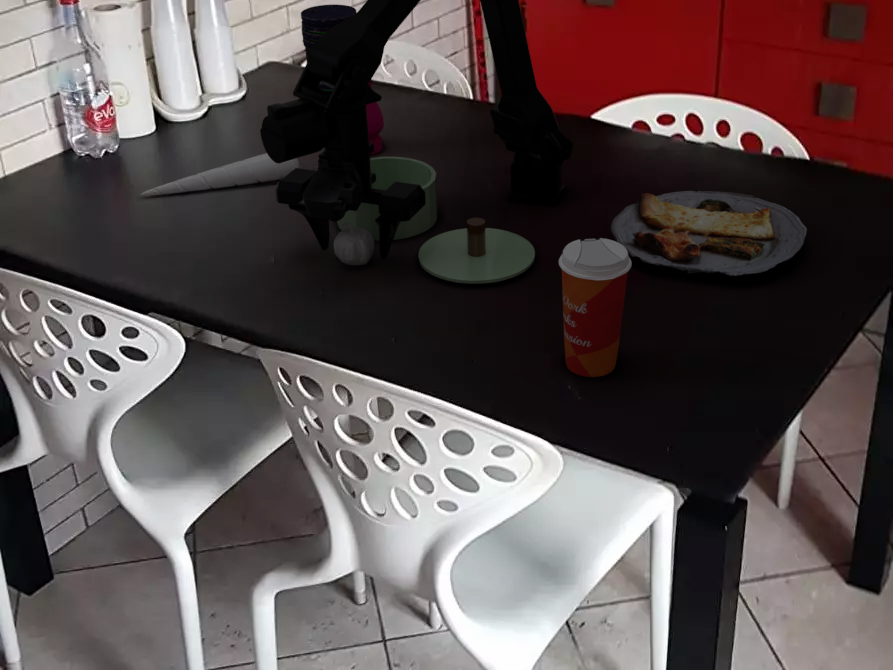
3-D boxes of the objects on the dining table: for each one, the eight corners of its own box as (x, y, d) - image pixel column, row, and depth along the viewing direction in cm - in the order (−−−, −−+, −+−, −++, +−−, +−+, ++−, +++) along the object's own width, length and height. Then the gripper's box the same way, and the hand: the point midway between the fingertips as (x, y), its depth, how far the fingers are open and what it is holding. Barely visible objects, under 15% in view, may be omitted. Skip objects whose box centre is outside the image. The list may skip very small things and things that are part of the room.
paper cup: (551, 348, 133) (553, 237, 126) (617, 343, 133) (623, 233, 126) (562, 385, 126) (565, 271, 119) (632, 380, 127) (639, 266, 120)
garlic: (326, 257, 154) (323, 222, 151) (363, 247, 156) (360, 212, 154) (346, 275, 150) (343, 239, 147) (383, 265, 152) (381, 229, 149)
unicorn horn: (140, 187, 176) (135, 158, 173) (297, 170, 180) (295, 141, 178) (141, 200, 172) (135, 170, 169) (301, 182, 176) (298, 152, 174)
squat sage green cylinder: (452, 205, 167) (451, 163, 164) (413, 247, 156) (411, 203, 153) (363, 192, 172) (360, 151, 169) (318, 232, 161) (315, 189, 158)
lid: (549, 244, 156) (550, 205, 153) (512, 296, 144) (512, 255, 141) (444, 228, 161) (443, 190, 158) (400, 277, 149) (397, 237, 146)
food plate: (590, 267, 150) (591, 243, 148) (633, 196, 168) (635, 174, 166) (790, 297, 141) (793, 272, 140) (812, 219, 160) (816, 196, 158)
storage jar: (369, 87, 213) (364, 5, 205) (353, 105, 204) (347, 20, 197) (317, 84, 215) (310, 3, 207) (299, 102, 207) (291, 18, 199)
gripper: (247, 156, 141) (261, 270, 149) (387, 175, 135) (394, 293, 143) (291, 124, 150) (302, 234, 158) (424, 141, 144) (429, 254, 152)
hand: (354, 253), depth 152 cm, fingers open, 8 cm apart
